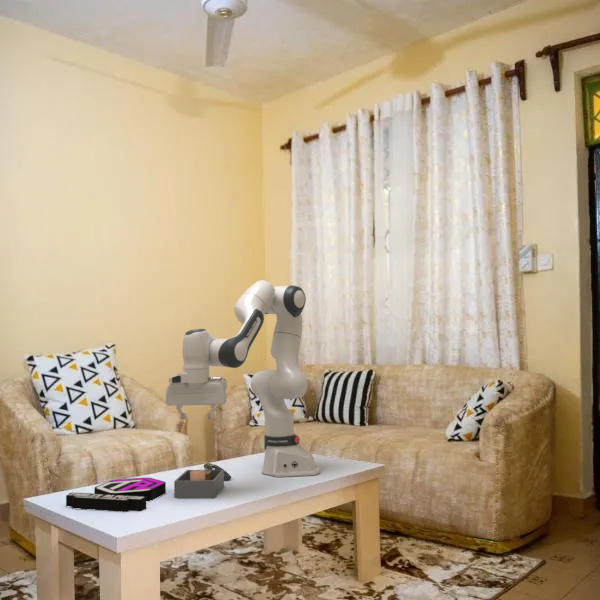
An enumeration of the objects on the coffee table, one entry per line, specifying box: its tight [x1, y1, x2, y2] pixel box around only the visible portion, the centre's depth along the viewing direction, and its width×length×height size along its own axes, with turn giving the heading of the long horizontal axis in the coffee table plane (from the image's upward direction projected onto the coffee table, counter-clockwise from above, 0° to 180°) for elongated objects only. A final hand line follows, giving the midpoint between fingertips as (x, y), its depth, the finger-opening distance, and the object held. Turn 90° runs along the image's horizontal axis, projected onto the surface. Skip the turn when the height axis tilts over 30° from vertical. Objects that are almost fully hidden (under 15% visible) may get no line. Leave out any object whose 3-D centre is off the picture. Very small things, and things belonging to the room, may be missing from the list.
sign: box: [65, 477, 167, 513], centre depth 211 cm, size 27×4×30 cm
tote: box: [173, 469, 225, 499], centre depth 217 cm, size 13×17×6 cm
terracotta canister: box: [190, 469, 206, 481], centre depth 213 cm, size 5×5×7 cm
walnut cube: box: [205, 471, 211, 480], centre depth 221 cm, size 5×5×5 cm
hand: (196, 418), depth 214 cm, fingers open, 8 cm apart
